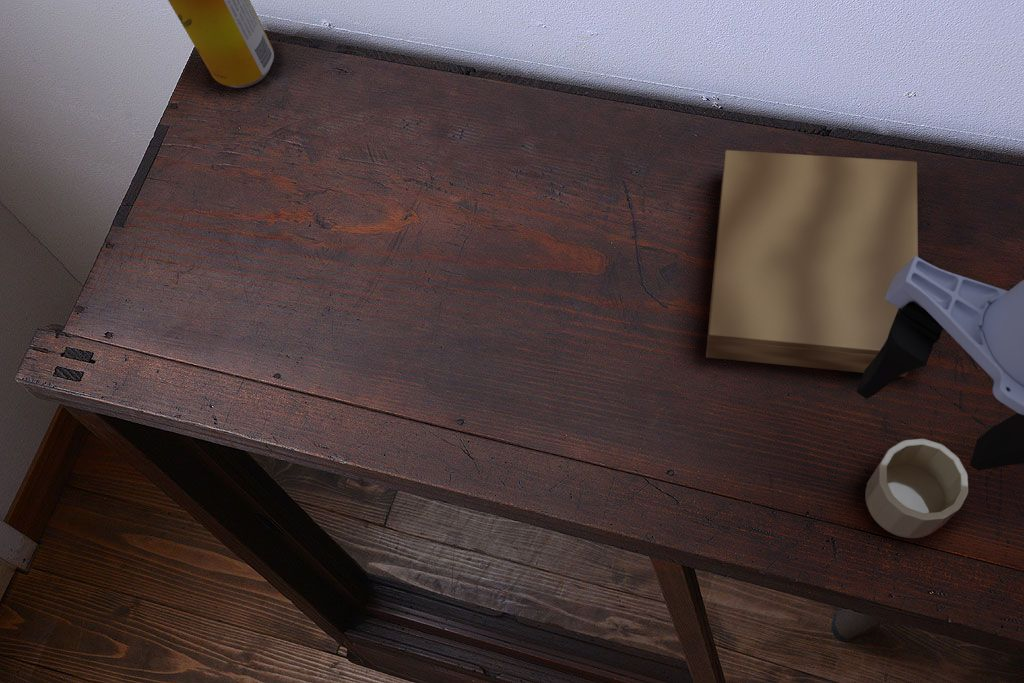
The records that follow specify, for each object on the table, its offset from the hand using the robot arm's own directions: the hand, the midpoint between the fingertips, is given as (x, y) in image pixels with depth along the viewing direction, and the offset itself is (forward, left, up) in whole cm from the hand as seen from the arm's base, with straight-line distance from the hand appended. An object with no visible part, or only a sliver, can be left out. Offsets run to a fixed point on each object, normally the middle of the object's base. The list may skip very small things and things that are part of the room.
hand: (921, 419), depth 57 cm
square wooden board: (+6, -15, -10) cm, 19 cm away
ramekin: (-1, +2, -10) cm, 10 cm away
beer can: (+57, -32, -10) cm, 66 cm away
